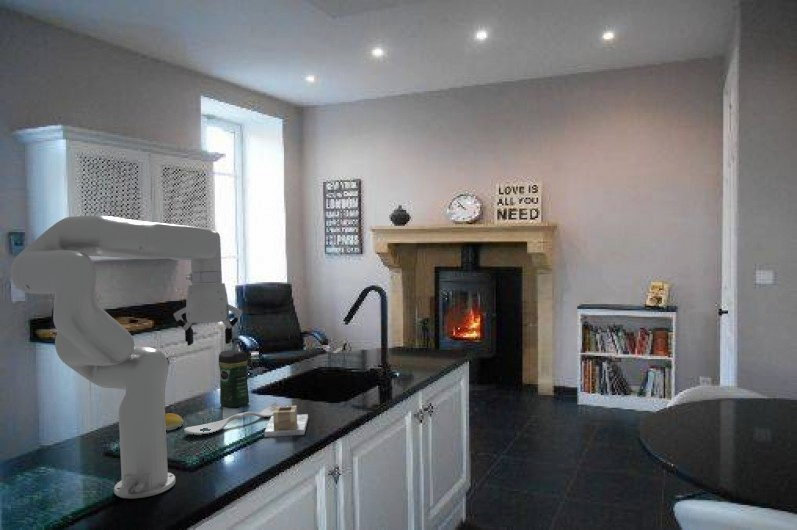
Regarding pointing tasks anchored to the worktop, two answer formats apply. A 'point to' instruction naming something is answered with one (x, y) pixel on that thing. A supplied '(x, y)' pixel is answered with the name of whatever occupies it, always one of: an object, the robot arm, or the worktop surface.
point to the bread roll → (173, 420)
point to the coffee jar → (233, 378)
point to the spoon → (220, 424)
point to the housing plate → (298, 430)
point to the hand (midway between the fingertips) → (209, 343)
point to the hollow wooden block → (285, 417)
